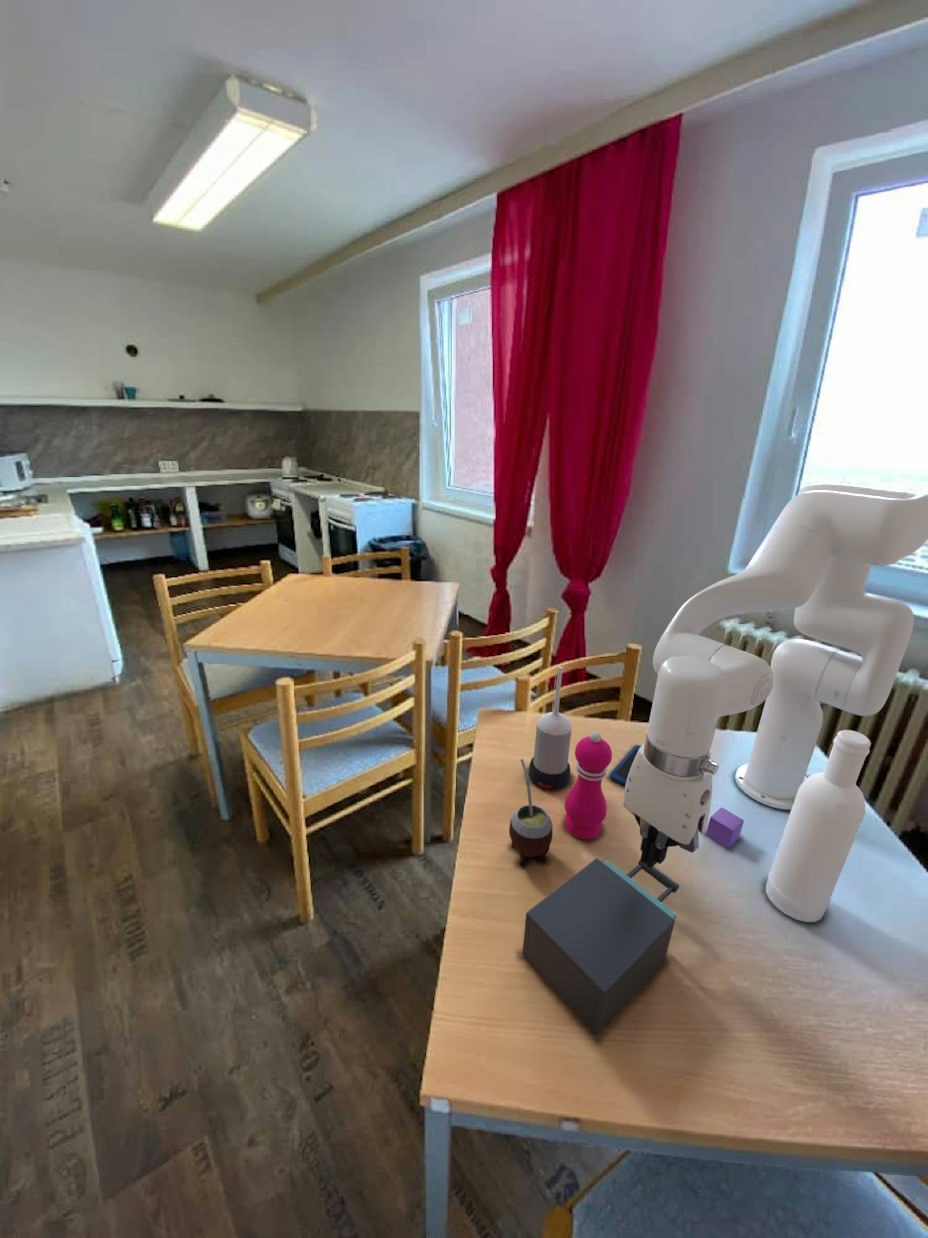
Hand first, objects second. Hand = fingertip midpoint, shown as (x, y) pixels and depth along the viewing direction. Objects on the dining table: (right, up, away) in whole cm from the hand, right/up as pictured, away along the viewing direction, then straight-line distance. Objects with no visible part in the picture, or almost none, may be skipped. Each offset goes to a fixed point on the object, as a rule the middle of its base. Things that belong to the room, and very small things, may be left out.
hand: (651, 859), depth 73 cm
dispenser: (-9, -12, -2) cm, 15 cm away
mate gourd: (-16, -5, +15) cm, 22 cm away
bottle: (+24, -10, +7) cm, 27 cm away
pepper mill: (-5, -4, +20) cm, 21 cm away
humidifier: (-9, +2, +32) cm, 34 cm away
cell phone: (+10, +2, +35) cm, 36 cm away
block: (+19, -4, +18) cm, 27 cm away
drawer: (-5, -10, +1) cm, 11 cm away
